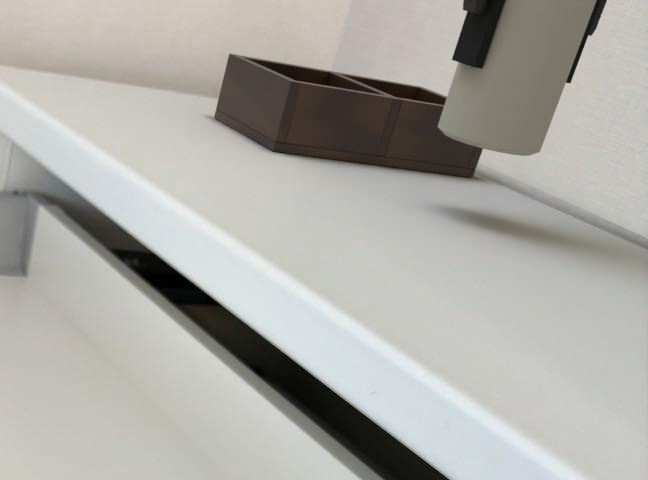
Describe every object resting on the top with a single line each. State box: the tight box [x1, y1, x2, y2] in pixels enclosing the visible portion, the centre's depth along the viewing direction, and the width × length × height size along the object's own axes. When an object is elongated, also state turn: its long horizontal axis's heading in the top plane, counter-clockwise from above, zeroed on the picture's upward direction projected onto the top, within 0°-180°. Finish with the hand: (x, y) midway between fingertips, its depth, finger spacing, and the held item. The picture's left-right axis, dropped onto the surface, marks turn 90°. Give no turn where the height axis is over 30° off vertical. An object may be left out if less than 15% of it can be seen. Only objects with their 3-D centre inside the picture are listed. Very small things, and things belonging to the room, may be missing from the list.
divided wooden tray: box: [213, 53, 484, 179], centre depth 103 cm, size 23×12×6 cm, turn 112°
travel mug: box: [438, 0, 597, 157], centre depth 80 cm, size 8×8×18 cm
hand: (511, 71), depth 82 cm, fingers closed on travel mug, 8 cm apart
